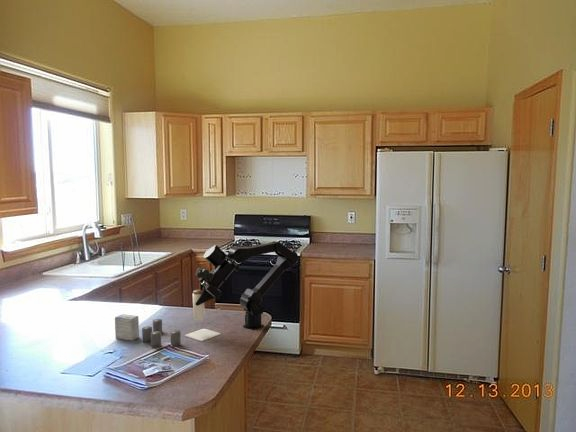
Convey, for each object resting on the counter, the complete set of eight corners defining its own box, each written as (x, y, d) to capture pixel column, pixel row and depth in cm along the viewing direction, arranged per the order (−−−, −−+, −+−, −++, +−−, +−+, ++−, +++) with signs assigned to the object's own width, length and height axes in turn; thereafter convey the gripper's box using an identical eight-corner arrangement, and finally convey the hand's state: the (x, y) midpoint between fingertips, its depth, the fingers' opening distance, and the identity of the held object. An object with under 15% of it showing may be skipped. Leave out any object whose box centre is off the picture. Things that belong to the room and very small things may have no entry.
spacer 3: (163, 345, 155) (163, 332, 155) (154, 348, 152) (154, 335, 152) (157, 343, 157) (157, 330, 157) (149, 346, 155) (148, 333, 154)
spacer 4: (182, 344, 156) (182, 331, 156) (174, 347, 153) (174, 334, 153) (176, 342, 158) (176, 329, 158) (168, 345, 155) (168, 332, 155)
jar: (207, 318, 166) (206, 290, 165) (198, 321, 162) (197, 292, 161) (199, 316, 169) (198, 288, 168) (191, 319, 165) (189, 291, 164)
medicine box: (139, 337, 164) (138, 315, 163) (131, 341, 160) (131, 319, 159) (123, 335, 166) (122, 313, 166) (115, 338, 162) (114, 316, 162)
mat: (220, 334, 167) (220, 333, 167) (201, 341, 159) (201, 340, 159) (204, 329, 173) (204, 328, 173) (184, 336, 165) (184, 335, 165)
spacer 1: (154, 340, 161) (154, 327, 160) (147, 342, 157) (146, 329, 157) (148, 338, 162) (147, 326, 162) (140, 341, 159) (140, 328, 159)
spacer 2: (164, 332, 170) (163, 320, 169) (156, 334, 167) (156, 322, 166) (158, 330, 172) (158, 318, 171) (151, 332, 169) (150, 320, 169)
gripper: (202, 256, 174) (176, 285, 171) (211, 264, 156) (183, 296, 153) (222, 273, 177) (196, 302, 174) (233, 282, 160) (205, 314, 157)
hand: (195, 303), depth 164 cm, fingers closed on jar, 4 cm apart
